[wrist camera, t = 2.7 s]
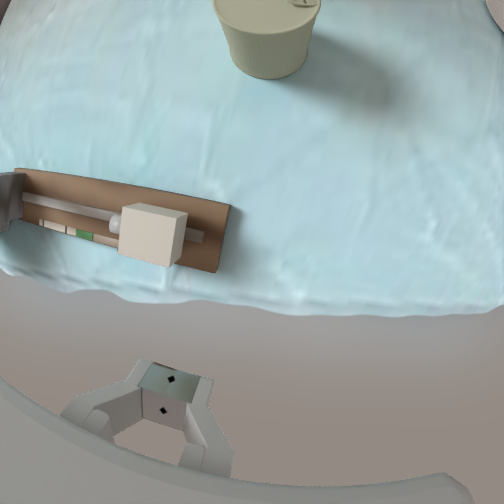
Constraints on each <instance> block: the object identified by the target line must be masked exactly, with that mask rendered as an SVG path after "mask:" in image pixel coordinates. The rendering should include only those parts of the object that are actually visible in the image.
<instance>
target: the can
mask: <svg viewBox="0 0 504 504" xmlns="http://www.w3.org/2000/svg"><path fill="white" fill-rule="evenodd" d="M212 4H213V8H214V11H215V13H216V15H217V16H218V18H219V21H220V23H221V26H222V28H223V31H224V34H225V36H226V39H227V42H228V45H229V48H230V55H231V58H232V60H233V62H234V63H235V65H236V66H237V67H238V68H239V69H240V70H242V71H243V72H245V73H246V74H248V75H250V76H253V77H256V78H261V79H278V78H282V77H285V76H288V75H290V74H292V73H294V72H295V71H296V70H298V69H299V68H300V67H301V66H302V64H303V63H304V61H305V59H306V56H307V50H308V48H307V47H308V43H309V40H310V36H311V33H312V29H313V26H314V23H315V20H316V16H317V14H318V12H319V10H320V6H321V0H212Z"/></svg>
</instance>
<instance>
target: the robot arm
mask: <svg viewBox="0 0 504 504" xmlns="http://www.w3.org/2000/svg"><path fill="white" fill-rule="evenodd" d="M213 381H214V379H212V378H207V377H203V376H199V375H195V374H191V373H187V372H184V371H180V370H176V369H173V368H170V367H167V366H164V365H161V364H158V363H156V362H152V361H149V360H146V359H144V358H141V359H140V360H139V361H138V362H137V364H136V365H135V367H134V368H133V370H132V371H131V373H130V374H129V376H128V377H127V379H126V380H125V382H124V381H119V382H116V383H113V384H110V385H108V386H104V387H102V388H99V389H96V390H93V391H90V392H87V393H84V394H81V395H78V396H75V397H73V398H72V400H71V401H70V402H69V404H68V405H67V406H66V408H65V409H64V410H63V411H62V413H61V414H60V415H59V416H58V415H57V414H55V413H53V412H51V411H50V410H48V409H46V408H45V407H43V406H41V405H40V404H39V403H37V402H36V401H34V400H32V399H31V398H29V397H28V396H27V395H25V394H24V393H22V392H21V391H19V390H18V389H17V388H15V387H14V386H12V385H11V384H10V383H9V382H7V381H6V380H4V379H3V378H2V377H1V376H0V504H475V503H474V500H473V497H472V495H471V493H470V491H469V490H468V488H467V487H466V486H464V485H463V484H462V483H460V482H459V481H457V480H456V479H454V478H453V477H451V476H449V475H448V474H446V473H436V474H431V475H426V476H422V477H417V478H411V479H406V480H400V481H393V482H386V483H378V484H368V485H353V486H323V487H322V486H292V485H279V484H268V483H260V482H251V481H245V480H239V479H233V478H230V476H231V469H232V462H233V456H234V451H233V449H232V448H231V446H230V444H229V443H228V441H227V439H226V437H225V435H224V434H223V432H222V430H221V428H220V427H219V425H218V423H217V421H216V419H215V417H214V415H213V413H212V412H211V410H210V408H208V405H209V401H210V396H211V392H212V387H213ZM142 418H144V419H147V420H150V421H153V422H156V423H159V424H163V425H166V426H169V427H172V428H175V429H178V430H181V431H184V435H185V438H186V440H187V444H185V446H184V449H183V452H182V455H181V458H180V461H179V464H178V466H176V465H173V464H169V463H166V462H163V461H159V460H157V459H154V458H150V457H148V456H145V455H142V454H139V453H136V452H134V451H131V450H129V449H126V448H124V447H121V446H119V445H116V444H115V442H114V438H113V436H114V435H116V434H118V433H120V432H121V431H123V430H125V429H127V428H128V427H130V426H132V425H133V424H135V423H137V422H138V421H140V420H142Z"/></svg>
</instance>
